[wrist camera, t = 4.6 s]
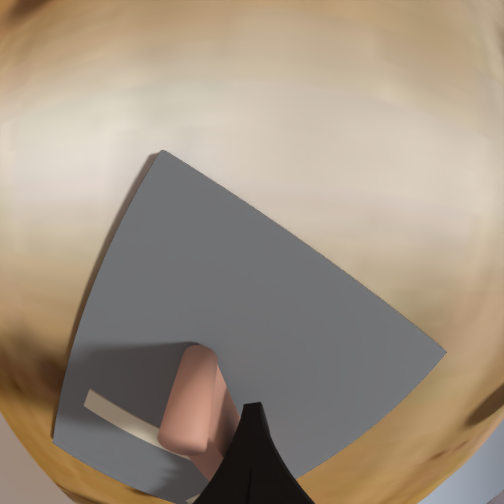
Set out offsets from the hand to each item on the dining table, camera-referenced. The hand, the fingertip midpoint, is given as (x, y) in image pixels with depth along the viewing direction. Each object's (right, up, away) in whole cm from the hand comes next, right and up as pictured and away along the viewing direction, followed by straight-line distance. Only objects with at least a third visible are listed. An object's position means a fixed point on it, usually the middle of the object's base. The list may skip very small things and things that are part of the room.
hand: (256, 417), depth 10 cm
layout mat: (-3, -4, +3) cm, 6 cm away
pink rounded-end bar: (-1, -3, +2) cm, 3 cm away
